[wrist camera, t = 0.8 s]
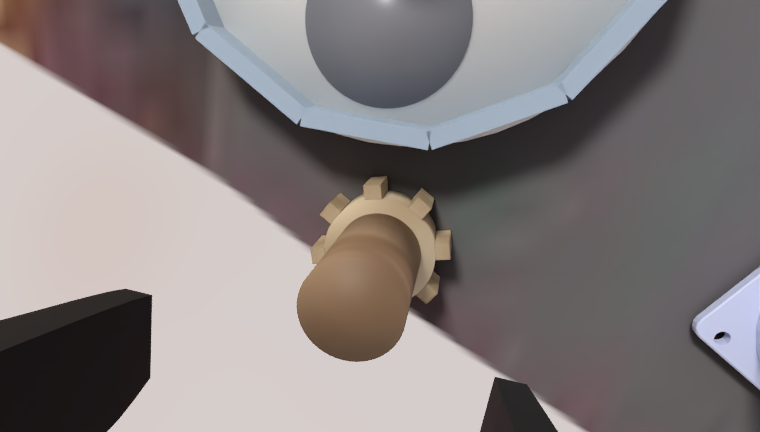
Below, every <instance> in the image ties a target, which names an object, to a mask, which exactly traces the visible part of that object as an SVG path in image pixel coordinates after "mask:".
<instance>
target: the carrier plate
mask: <svg viewBox="0 0 760 432" xmlns="http://www.w3.org/2000/svg"><path fill="white" fill-rule="evenodd" d="M666 1H667V0H178V2H179V5H180V7H181V9H182V12H183V14H184V16H185V19H186V21H187V23H188V26H189V28H190V30H191V33H192V35H197V36H196V38H195V39H196V40H198V41H199V42H200V43H201V44H202V45H204V46H205V47H206V48H207V49H208V50H209V51H211V52H212V53H213V54H214V55H215V56H216V57H218V58H219V59H220V60H221V61H222V62H224V63H225V64H226V65H227V66H228V67H229V68H231V69H232V70H233V71H234V72H235V73H237V74H238V75H239V76H240V77H241V78H242V79H244V80H245V81H246V82H247V83H248V84H250V85H251V86H252V87H253V88H254V89H255V90H257V91H258V92H259V93H260V94H261V95H262V96H264V97H265V98H266V99H267V100H268V101H270V102H271V103H272V104H273V105H274V106H275V107H277V108H278V109H279V110H280V111H281V112H283V113H284V114H285V115H286V116H287V117H288V118H290V119H291V120H292V121H293V122H294V123H295V124H299V123H301V124H300V126H302V127H307V128H313V129H318V130H323V131H328V132H334V133H336V134H339V135H343V136H346V137H350V138H354V139H358V140H362V141H366V142H370V143H379V144H387V145H395V146H408V147H413V148H418V149H423V150H428V149H429V147H430V146H431V148H432V150H433V149H436V148H439V147H442V146H445V145H448V144H451V143H456V142H463V141H468V140H471V139H475V138H479V137H482V136H486V135H490V134H493V133H497V132H500V131H502V130H505V129H507V128H509V127H512V126H514V125H517V124H519V123H521V122H524V121H526V120H529V119H531V118H533V117H535V116H536V115H538V114H540V113H542V112H543V111H546V110H549V109H552V108H555V107H558V106H560V105H563V104H566V103H568V100H567V99H570V100H573V99H574V98H575V97H576V96H577V95H578V94H579V93H580V92H581V91H582V89H583V88H584V87H585V86H586V85H587V84H588V83H589V82H590V81H591V80H592V79H593V78H594V77H595V76H596V75H597V74H598V73H599V72H601V71H602V70H603V69H604V68H605V67H606V66H607V65H608V64H609V63H610V62H611V61H612V60H613V59H614V58H616V57H617V56H618V55H619V54H620V53H621V52H622V51H623V50H624V49H625V48H626V47H627V45H628V44H629V43H630V42H631V41H632V40H633V38H634V37H635V36H636V35H637V34H638V32H639V31H640V30H641V29H642V28H643V27H644V25H645V24H646V23H647V22H648V21H649V20H650V18H651V17H652V16H653V15H654V14H655V13H656V12H657V11H658V9H659V8H660V7H661V6H662V5H663V4H664V3H665V2H666Z"/></svg>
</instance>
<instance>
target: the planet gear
mask: <svg viewBox="0 0 760 432" xmlns="http://www.w3.org/2000/svg"><path fill="white" fill-rule="evenodd" d="M363 189H364V194H362V195H360V196H358V197H356V198H355V199H353V200H352V201H351V202H350V200H348V199H347V198H346V197H345V196H344V195H343V194H341V193H339V194H338V195H337V196H336V197H335V198H334V199H333V200H332V201H331V202H330V203H329V204H328V205H327V206H326V208H325V209H324V210H323V211H322V213H321V214H320V215H321V216H322V217H323V218H324V219H326V220H327V221H328V222H329V223H330V224H331V223H332V224H331V225H330V227H329V229H328V232H327V235H326V236H321V237H320V239H319V240H318V241H317V242H316V243H315V244H314V245H313V246H312V247H311V255H312V262H313V264H317V265H316V266H315V268H314V269H313V270H312V271H311V273H310V274H309V276H308V277H307V278H306V279H305V281H304V282H303V284H302V286H301V288H300V291H299V293H298V298H297V313H298V318H299V321H300V324H301V326H302V328H303V330H304V332H305V334H306V335H307V336H308V338H309V339H310V340H311V341H312V342H313V343H314V344H315V345H316V346H317V347H318V348H319V349H321V350H322V351H324V352H325V353H327V354H329V355H331V356H333V357H335V358H338V359H342V360H347V361H355V362H357V361H368V360H372V359H375V358H378V357H380V356H382V355H384V354H385V353H387V352H388V351H389V350H390V349H392V348H393V347H394V346H395V345H396V343H397V342H398V341H399V339H400V337H401V335H402V333H403V330H404V326H405V323H406V319H407V315H408V311H409V307H410V303H411V299H412V297H413V296H415V295H416V296H417V297H419V298H420V299H421V300H422V301H423V302H425V303H426V304H427V303H428V302H429V301H430V300H431V299H432V298H433V297H434V296H435V295H436V294H437V293H438V287H439V280H440V276H439V275H437V274H436V273H435V272H434V271H433V269H434V265H435V259H436V260H450V258H451V247H452V243H451V230H442V231H436V227H435V224H434V222H433V220H432V218H431V216H430V214H429V213H428V212H429V211H430V210H431V209H432V205H433V202H434V198H433V197H432V196H431V195H430V194H429V193H428V192H426V191H425V190H424V189H423V188H421V189H420V191H419V192H418V193H417V194H416V195H415V196H414V197H413V198H412V197H410V196H408V195H406V194H404V193H401V192H398V191H393V190H388V180H387V176H379V177H371V178H370V179H369V180H368V181H367V182H366V183H365V184H364V185H363ZM349 202H350V203H349ZM348 203H349V204H348ZM347 204H348V205H347Z"/></svg>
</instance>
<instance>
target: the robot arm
mask: <svg viewBox="0 0 760 432" xmlns="http://www.w3.org/2000/svg"><path fill="white" fill-rule="evenodd" d="M151 309H152V295H149V294H145V293H141V292H136V291H132V290H128V289H122V290H116V291H111V292H106V293H102V294H98V295H94V296H90V297H86V298H82V299H78V300H74V301H70V302H67V303H63V304H59V305H56V306H52V307H48V308H45V309H41V310H38V311H34V312H30V313H26V314H23V315H19V316H16V317H12V318H8V319H4V320H0V432H107V431H108V430H109V429H110V428H111V427H112V426H113V425H114V424H115V423H116V421H117V420H118V419H119V418H120V417H121V416H122V414H123V413H124V412H125V411H126V409H127V408H128V407H129V405H130V404H131V403H132V401H133V400H134V399H135V398H136V396H137V395H138V394H139V392H140V391H141V390H142V388H143V387H144V385H145V384H146V383H147V381H148V380H149V379H150V362H151V360H150V359H151V312H152V310H151ZM692 328H693V331H694V332H695V333H696V334H697V336H698V337H699V338H700V339H701V340H703V341H704V342H705V343H706V344H707V345H708V346H709V347H711V348H712V349H713V350H714V351H715V352H716V353H718V354H719V355H720V356H721V357H722V358H723V359H724V360H726V361H727V362H728V363H729V364H730V365H731V366H733V367H734V368H735V369H736V370H737V371H738V372H739V373H741V374H742V375H743V376H744V377H745V378H746V379H748V380H749V381H750V382H751V383H752V384H753V385H754V386H756V387H757V388H758V389H759V390H760V267H759V268H757V269H756V270H755V271H753V272H752V273H751V274H750V275H748V276H747V277H746V278H745V279H743V280H742V281H741V282H739V283H738V284H737V285H736V286H734V287H733V288H732V289H730V290H729V291H728V292H727V293H725V294H724V295H723V296H722V297H720V298H719V299H718V300H716V301H715V302H714V303H713V304H711V305H710V306H709V307H707V308H706V309H705V310H704V311H702V312H701V313H700V314H699V315H697V316H696V317H695V319H694V320H693V323H692ZM719 332H725V335H724V336H723V338H720V339H714V337H715V335H716V334H717V333H719ZM480 432H558V431H557V430H556V428H555V427H554V425H553V424H552V422H551V421H550V419H549V418H548V416H547V414H546V413H545V411H544V410H543V408H542V407H541V405H540V404H539V402H538V401H537V399H536V398H535V396H534V394H533V393H532V391H531V390H530V388H529V387H528V385H527V384H522V383H518V382H514V381H510V380H506V379H501V378H497V377H495V379H494V382H493V386H492V390H491V393H490V397H489V401H488V404H487V408H486V412H485V416H484V419H483V423H482V427H481V431H480Z"/></svg>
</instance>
